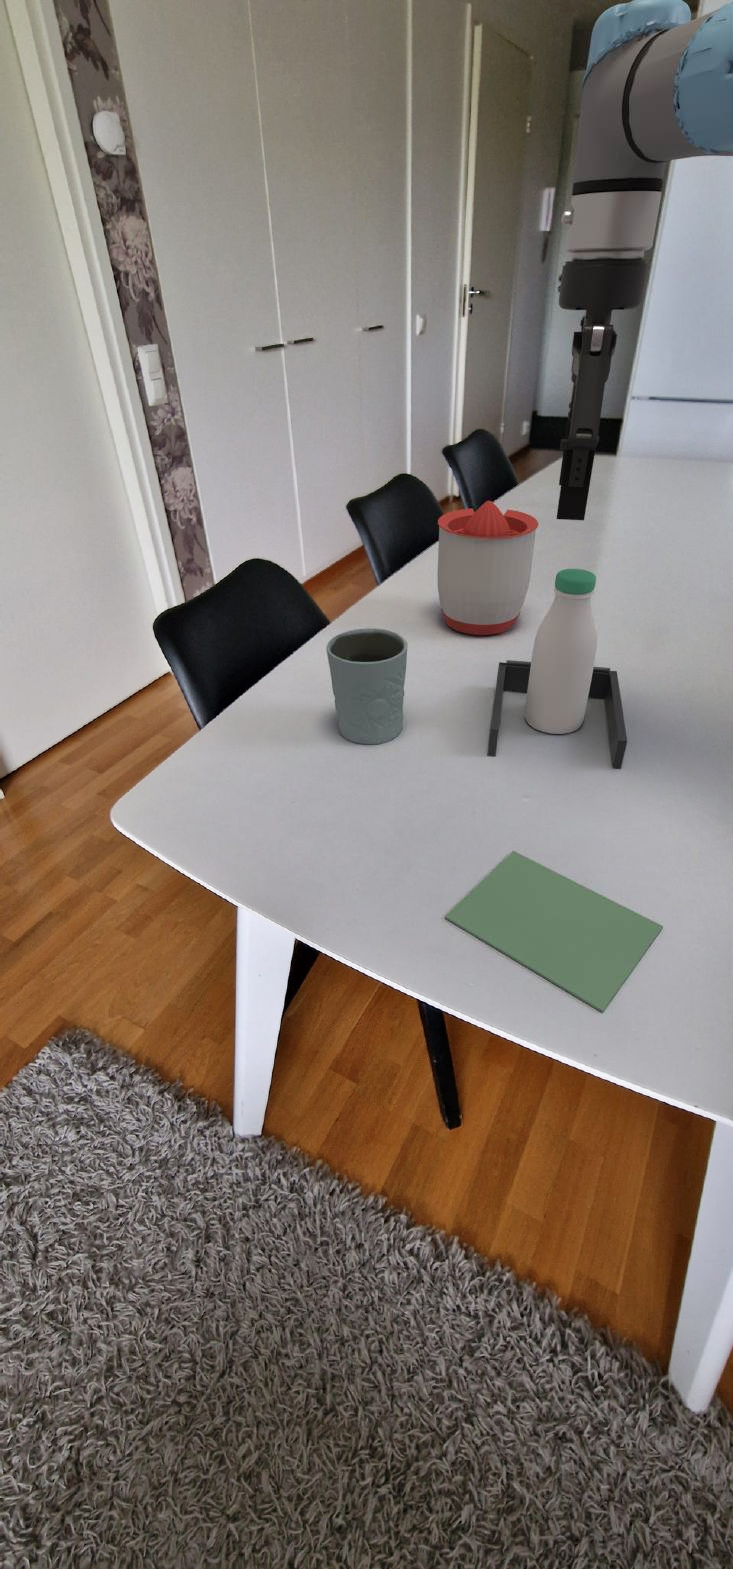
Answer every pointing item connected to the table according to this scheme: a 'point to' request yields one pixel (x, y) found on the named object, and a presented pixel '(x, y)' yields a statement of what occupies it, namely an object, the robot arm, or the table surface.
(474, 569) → the citrus juicer
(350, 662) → the grey-green cup
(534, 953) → the mat
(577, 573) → the milk bottle
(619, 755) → the dark grey u-shaped frame
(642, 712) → the table surface
